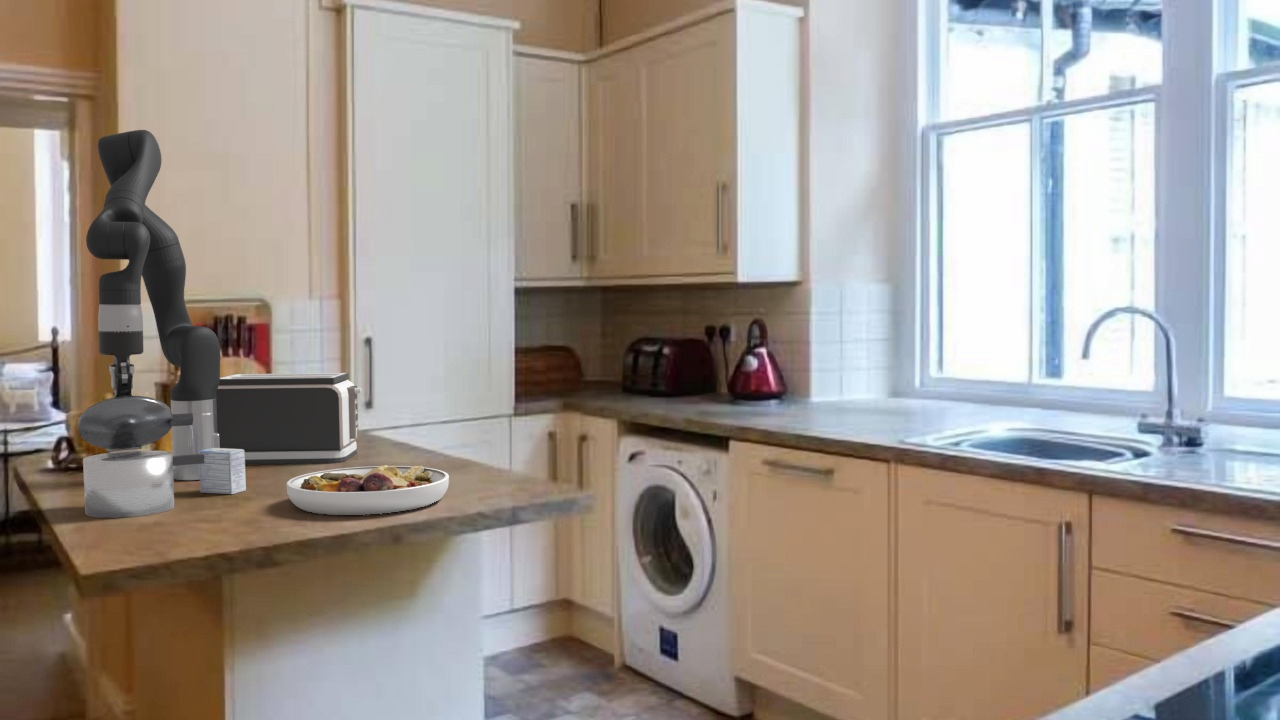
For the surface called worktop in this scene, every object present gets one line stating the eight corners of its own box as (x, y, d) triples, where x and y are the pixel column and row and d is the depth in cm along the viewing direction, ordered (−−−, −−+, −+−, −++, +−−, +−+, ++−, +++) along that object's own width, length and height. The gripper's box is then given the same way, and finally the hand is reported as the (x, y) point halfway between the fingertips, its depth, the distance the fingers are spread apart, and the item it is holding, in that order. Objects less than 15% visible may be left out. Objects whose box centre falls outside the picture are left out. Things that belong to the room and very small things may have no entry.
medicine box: (246, 491, 218) (245, 449, 217) (231, 495, 213) (230, 452, 213) (215, 489, 220) (213, 447, 220) (199, 493, 216) (198, 450, 215)
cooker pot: (197, 494, 214) (195, 445, 213) (211, 508, 199) (209, 455, 199) (82, 505, 203) (80, 453, 203) (87, 521, 189) (85, 465, 188)
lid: (188, 446, 211) (186, 433, 213) (196, 398, 200) (194, 383, 201) (77, 454, 201) (76, 440, 203) (79, 404, 190) (78, 389, 191)
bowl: (280, 497, 212) (279, 457, 212) (430, 485, 224) (429, 448, 224) (295, 526, 185) (294, 481, 185) (466, 511, 197) (465, 469, 196)
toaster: (354, 463, 254) (352, 377, 252) (205, 466, 252) (202, 379, 250) (370, 452, 273) (368, 372, 272) (231, 454, 271) (229, 373, 270)
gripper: (146, 329, 196) (148, 423, 197) (139, 327, 207) (141, 416, 208) (100, 330, 192) (103, 426, 193) (96, 328, 203) (98, 418, 204)
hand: (123, 421), depth 201 cm, fingers closed
